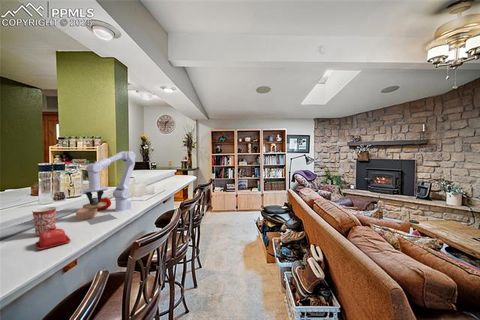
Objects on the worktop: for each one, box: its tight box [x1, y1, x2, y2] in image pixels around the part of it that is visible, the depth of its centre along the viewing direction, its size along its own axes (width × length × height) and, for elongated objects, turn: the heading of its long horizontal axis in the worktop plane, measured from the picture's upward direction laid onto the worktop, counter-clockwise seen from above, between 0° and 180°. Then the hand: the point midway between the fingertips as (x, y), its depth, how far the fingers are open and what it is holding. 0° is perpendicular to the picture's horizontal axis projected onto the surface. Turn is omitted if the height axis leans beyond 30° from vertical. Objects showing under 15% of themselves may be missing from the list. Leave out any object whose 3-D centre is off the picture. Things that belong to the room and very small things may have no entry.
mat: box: [83, 213, 118, 226], centre depth 127 cm, size 14×14×1 cm
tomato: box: [97, 196, 112, 211], centre depth 150 cm, size 14×13×9 cm
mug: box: [32, 206, 57, 238], centre depth 107 cm, size 13×9×14 cm
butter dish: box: [34, 225, 71, 250], centre depth 95 cm, size 12×12×8 cm
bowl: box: [75, 208, 98, 220], centre depth 133 cm, size 11×11×4 cm
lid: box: [82, 197, 107, 209], centre depth 129 cm, size 12×12×6 cm
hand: (94, 203), depth 129 cm, fingers closed on lid, 4 cm apart
